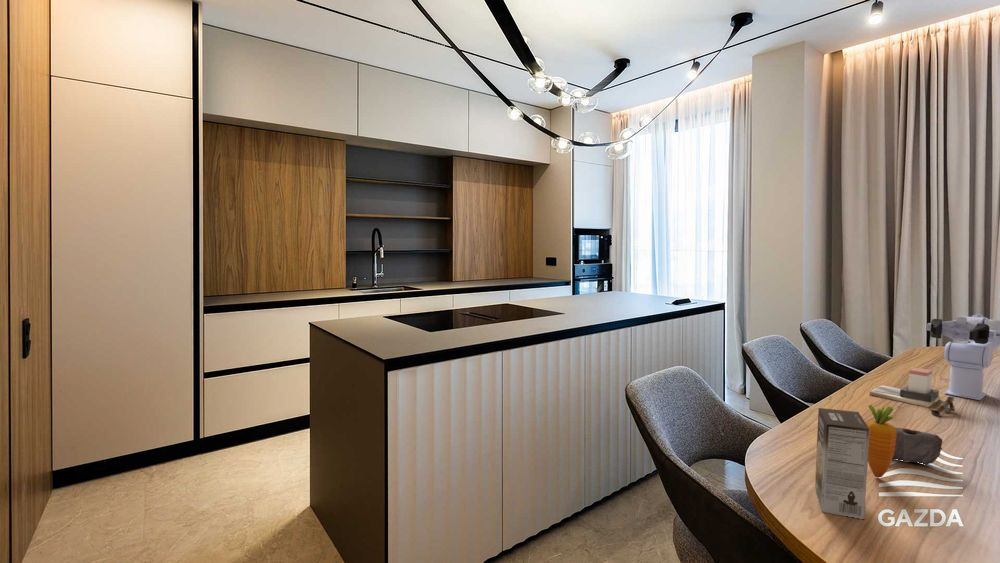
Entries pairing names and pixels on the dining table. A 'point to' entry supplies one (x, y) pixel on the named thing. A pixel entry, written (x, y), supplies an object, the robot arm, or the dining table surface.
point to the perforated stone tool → (917, 446)
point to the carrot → (881, 441)
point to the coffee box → (841, 462)
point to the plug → (920, 380)
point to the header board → (907, 395)
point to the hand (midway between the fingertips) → (952, 333)
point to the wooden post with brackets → (943, 406)
